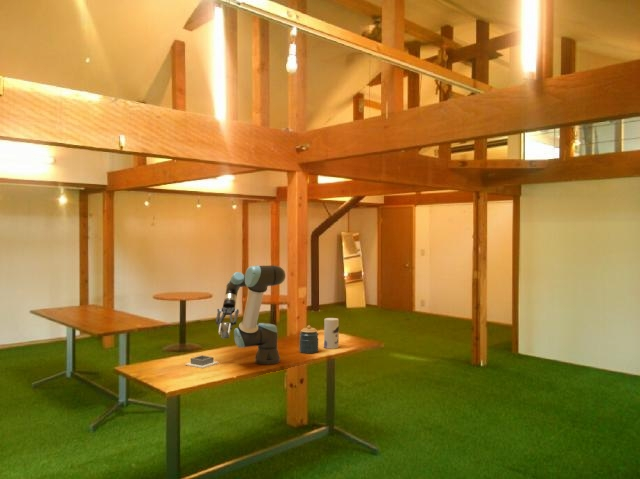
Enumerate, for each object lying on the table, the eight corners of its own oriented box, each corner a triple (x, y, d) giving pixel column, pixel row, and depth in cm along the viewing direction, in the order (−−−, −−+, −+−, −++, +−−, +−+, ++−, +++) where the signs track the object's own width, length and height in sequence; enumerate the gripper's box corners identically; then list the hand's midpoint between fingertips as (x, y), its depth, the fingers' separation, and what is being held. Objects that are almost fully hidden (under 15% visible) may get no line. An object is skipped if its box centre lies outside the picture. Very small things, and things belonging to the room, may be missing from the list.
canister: (315, 348, 329) (315, 323, 329) (321, 353, 316) (321, 326, 316) (296, 350, 324) (297, 324, 324) (302, 354, 312) (302, 327, 312)
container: (337, 349, 328) (337, 320, 328) (322, 348, 330) (323, 319, 330) (339, 346, 337) (339, 317, 337) (325, 345, 339) (325, 317, 339)
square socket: (218, 363, 289) (219, 356, 289) (202, 368, 276) (202, 361, 276) (201, 360, 296) (201, 354, 296) (184, 365, 283) (185, 358, 283)
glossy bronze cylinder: (231, 337, 292) (231, 322, 292) (225, 338, 287) (225, 323, 287) (225, 336, 294) (225, 321, 294) (219, 337, 290) (219, 323, 290)
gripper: (244, 305, 306) (239, 337, 290) (216, 305, 306) (210, 336, 290) (243, 298, 300) (238, 330, 284) (214, 298, 301) (208, 329, 284)
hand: (224, 333), depth 287 cm, fingers closed on glossy bronze cylinder, 5 cm apart
